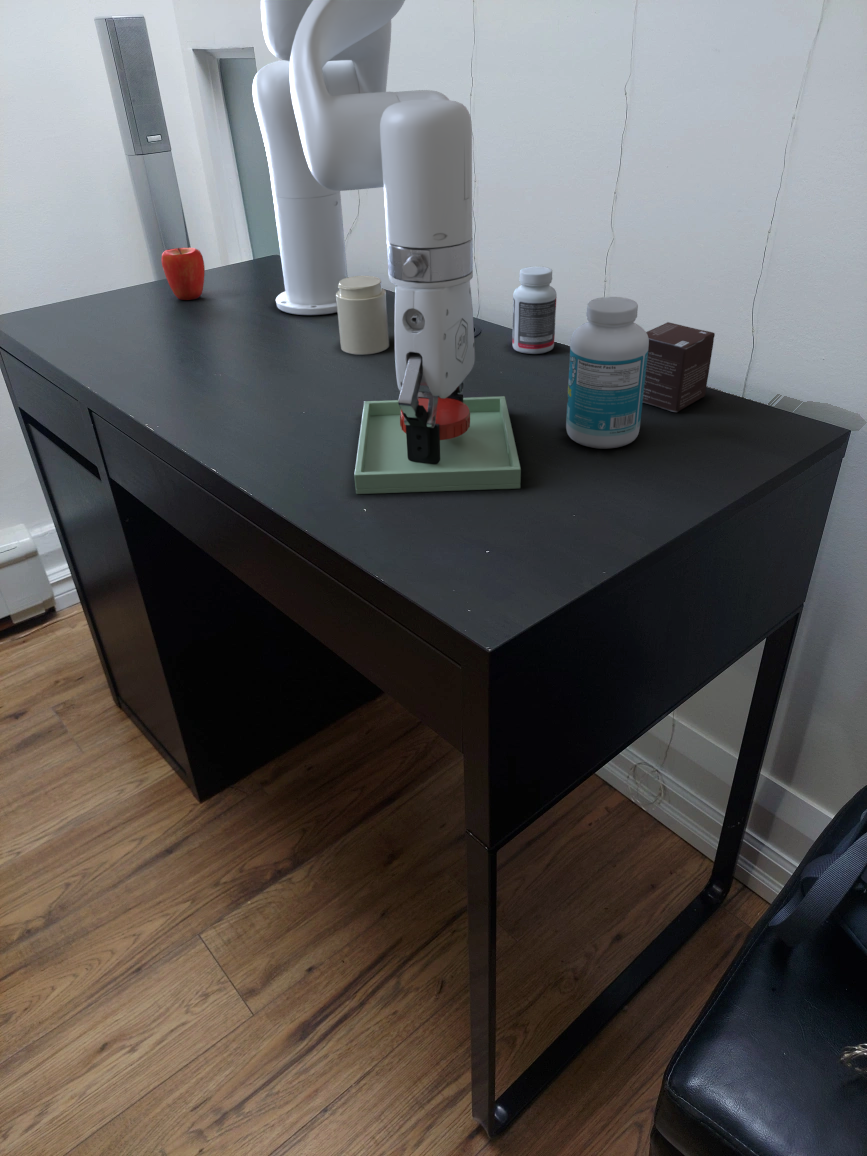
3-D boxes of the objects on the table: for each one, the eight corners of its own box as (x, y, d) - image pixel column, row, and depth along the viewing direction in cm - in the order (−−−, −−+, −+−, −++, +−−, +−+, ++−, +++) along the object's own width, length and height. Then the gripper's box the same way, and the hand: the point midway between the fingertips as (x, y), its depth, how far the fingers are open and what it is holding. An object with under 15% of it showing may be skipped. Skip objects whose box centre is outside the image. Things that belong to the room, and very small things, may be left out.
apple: (208, 290, 136) (200, 241, 132) (210, 300, 131) (201, 250, 127) (168, 294, 135) (158, 245, 131) (169, 304, 130) (158, 254, 126)
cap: (457, 444, 80) (457, 429, 79) (390, 435, 82) (389, 420, 81) (478, 416, 85) (478, 401, 84) (414, 408, 87) (414, 393, 86)
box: (659, 384, 97) (667, 321, 93) (706, 397, 94) (716, 332, 90) (629, 399, 94) (636, 334, 90) (676, 414, 90) (685, 347, 86)
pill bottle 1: (562, 349, 108) (567, 270, 103) (530, 358, 106) (532, 278, 100) (536, 338, 112) (538, 262, 106) (503, 346, 110) (504, 269, 104)
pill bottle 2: (585, 415, 91) (594, 288, 83) (650, 430, 87) (666, 298, 80) (552, 441, 86) (558, 308, 78) (619, 458, 82) (633, 320, 75)
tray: (365, 418, 92) (364, 401, 91) (504, 413, 92) (504, 396, 91) (356, 494, 78) (354, 475, 77) (520, 488, 78) (520, 469, 77)
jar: (342, 339, 114) (336, 275, 109) (389, 337, 114) (385, 273, 109) (339, 355, 109) (333, 289, 104) (389, 353, 109) (384, 287, 104)
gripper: (438, 290, 67) (444, 490, 77) (497, 240, 80) (496, 415, 90) (352, 284, 69) (368, 479, 79) (423, 236, 82) (430, 408, 92)
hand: (436, 444), depth 85 cm, fingers closed on cap, 6 cm apart
